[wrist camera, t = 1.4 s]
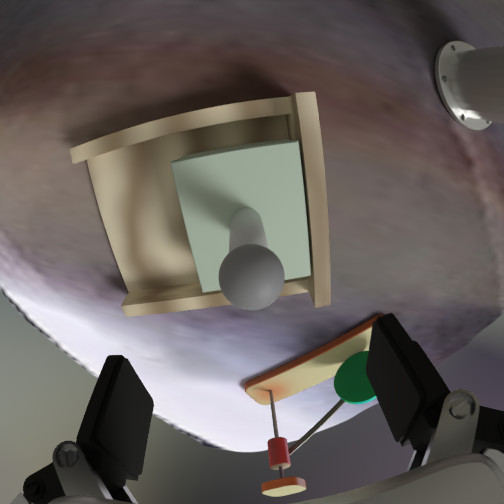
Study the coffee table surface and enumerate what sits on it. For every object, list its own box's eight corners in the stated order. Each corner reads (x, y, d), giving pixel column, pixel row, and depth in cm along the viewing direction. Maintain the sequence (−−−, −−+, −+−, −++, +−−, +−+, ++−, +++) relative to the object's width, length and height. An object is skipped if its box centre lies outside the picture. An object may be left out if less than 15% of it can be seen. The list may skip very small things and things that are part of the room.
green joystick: (286, 137, 26) (349, 156, 11) (298, 249, 32) (347, 358, 17) (183, 154, 26) (118, 195, 11) (207, 263, 32) (188, 382, 17)
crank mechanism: (262, 401, 45) (272, 499, 28) (241, 383, 43) (245, 492, 25) (394, 335, 41) (446, 429, 23) (384, 310, 38) (447, 412, 21)
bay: (297, 98, 26) (315, 91, 19) (314, 271, 34) (330, 304, 28) (87, 145, 26) (53, 153, 20) (135, 298, 35) (118, 332, 28)
